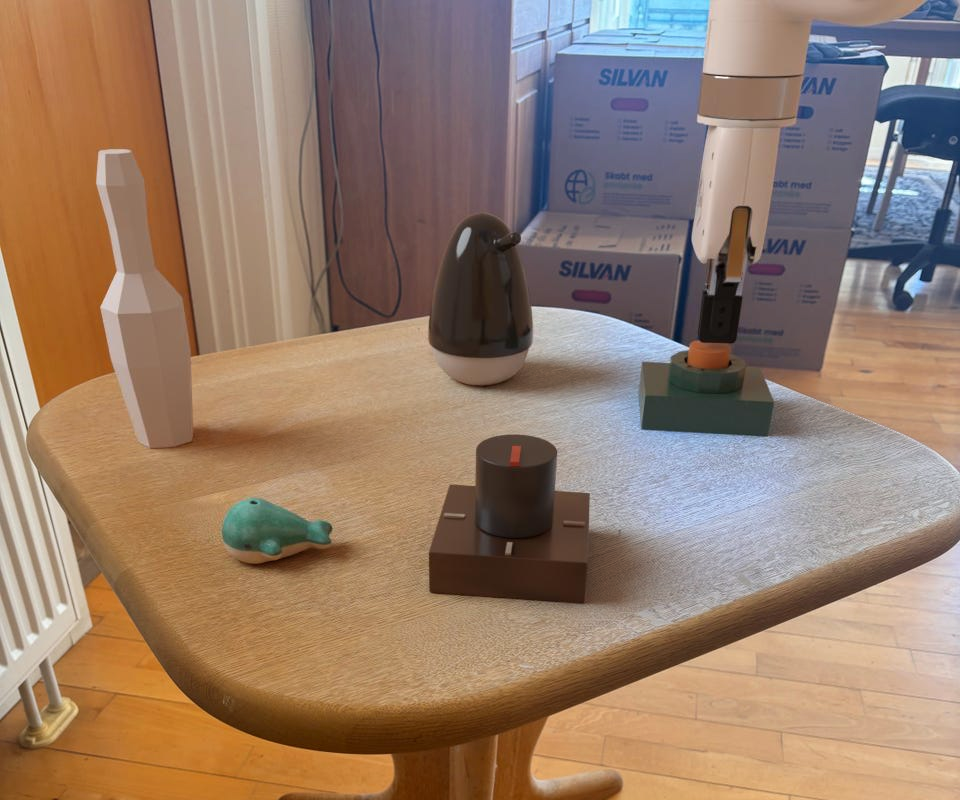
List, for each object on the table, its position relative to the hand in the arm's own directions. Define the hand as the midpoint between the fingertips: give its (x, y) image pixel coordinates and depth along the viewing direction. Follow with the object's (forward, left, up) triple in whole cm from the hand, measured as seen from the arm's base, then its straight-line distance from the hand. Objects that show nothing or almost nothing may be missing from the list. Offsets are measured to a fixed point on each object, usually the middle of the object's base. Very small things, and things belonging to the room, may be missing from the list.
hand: (716, 339), depth 85 cm
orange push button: (0, 0, -2) cm, 2 cm away
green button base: (0, 0, -7) cm, 7 cm away
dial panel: (+15, +29, -7) cm, 33 cm away
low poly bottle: (+46, +12, -7) cm, 48 cm away
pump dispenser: (+21, -7, -7) cm, 24 cm away
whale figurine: (+31, +30, -7) cm, 44 cm away
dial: (+15, +29, -4) cm, 33 cm away
